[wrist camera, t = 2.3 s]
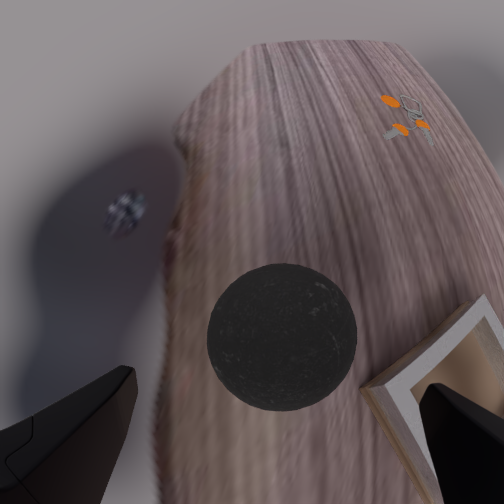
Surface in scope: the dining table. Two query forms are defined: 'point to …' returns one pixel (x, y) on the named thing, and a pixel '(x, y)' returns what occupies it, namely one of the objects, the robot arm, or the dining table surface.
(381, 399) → the socket collar
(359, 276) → the dining table surface
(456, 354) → the socket board
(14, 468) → the robot arm
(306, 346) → the light bulb
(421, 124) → the key chain
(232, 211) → the dining table surface
